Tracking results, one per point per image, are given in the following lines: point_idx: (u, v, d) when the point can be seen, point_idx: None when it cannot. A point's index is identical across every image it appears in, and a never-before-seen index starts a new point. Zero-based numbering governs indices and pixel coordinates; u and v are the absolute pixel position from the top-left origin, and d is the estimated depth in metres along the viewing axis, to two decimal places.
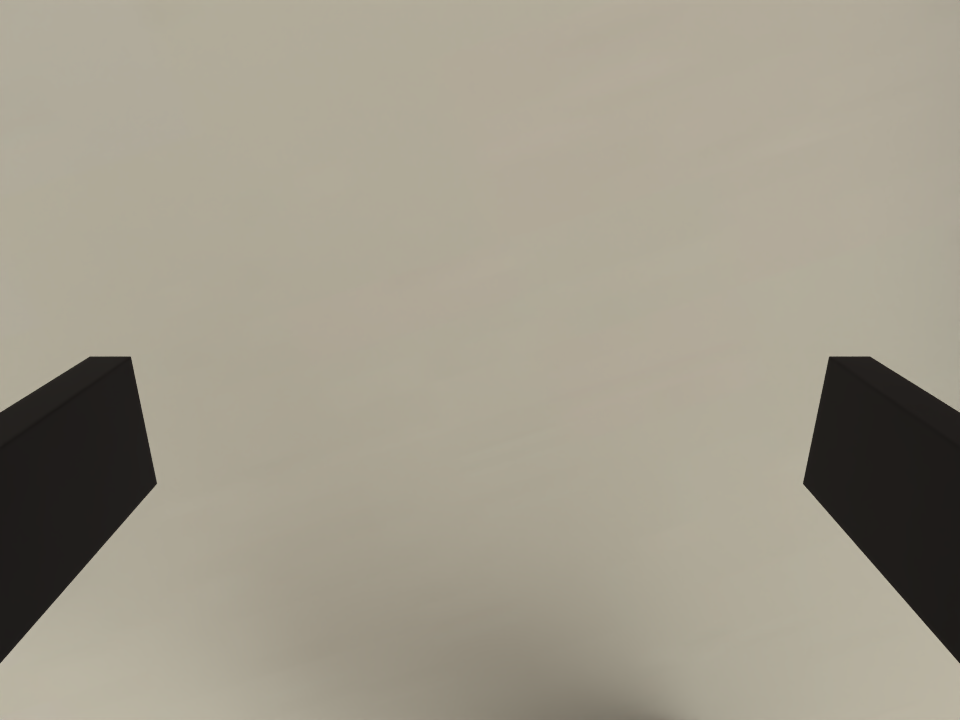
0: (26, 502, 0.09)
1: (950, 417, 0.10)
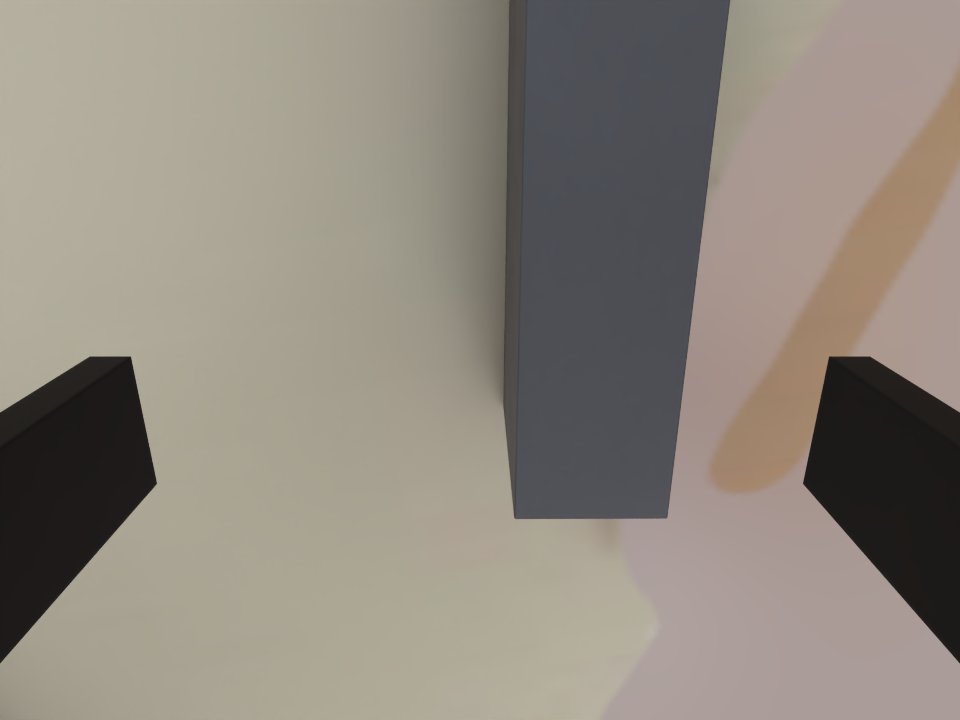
0: (26, 502, 0.09)
1: (950, 417, 0.10)
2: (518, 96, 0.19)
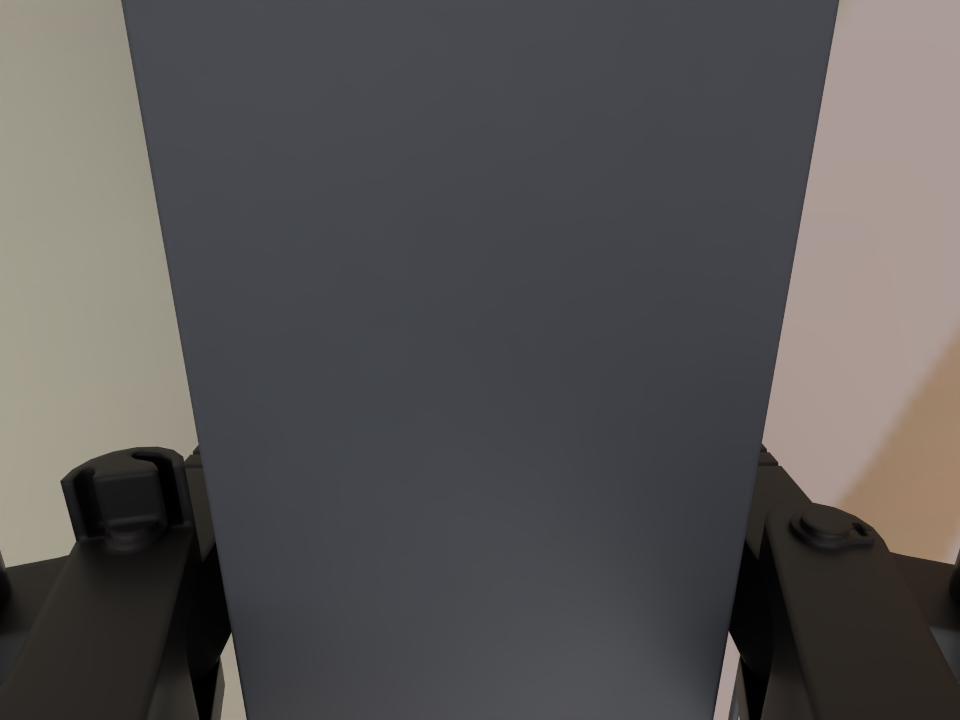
0: None
1: None
2: None
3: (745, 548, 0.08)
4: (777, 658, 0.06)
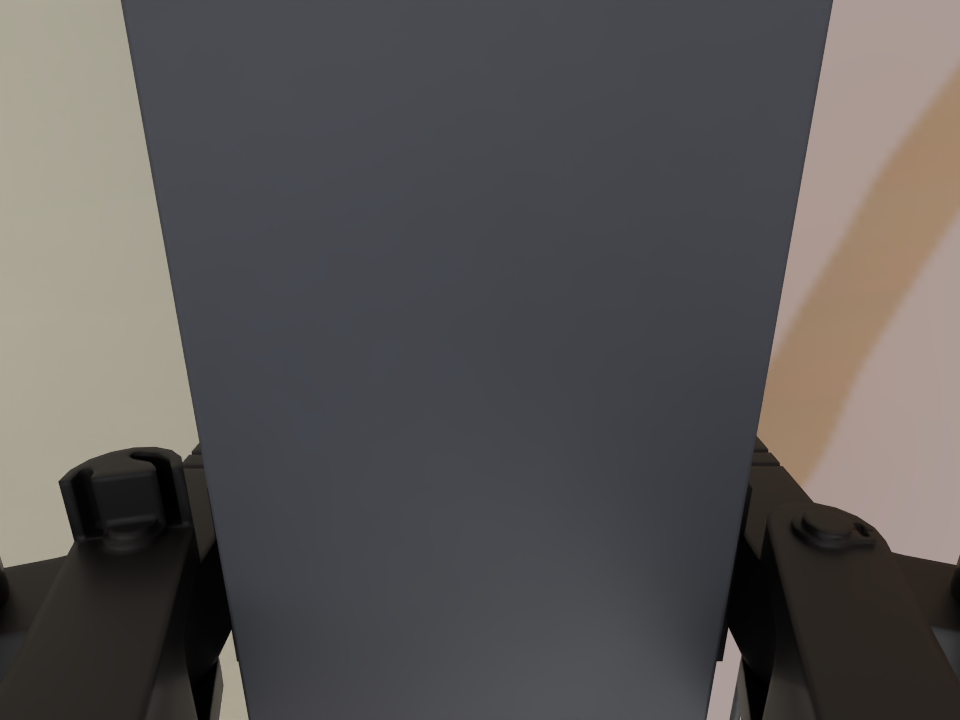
0: None
1: None
2: None
3: (746, 548, 0.08)
4: (779, 658, 0.06)
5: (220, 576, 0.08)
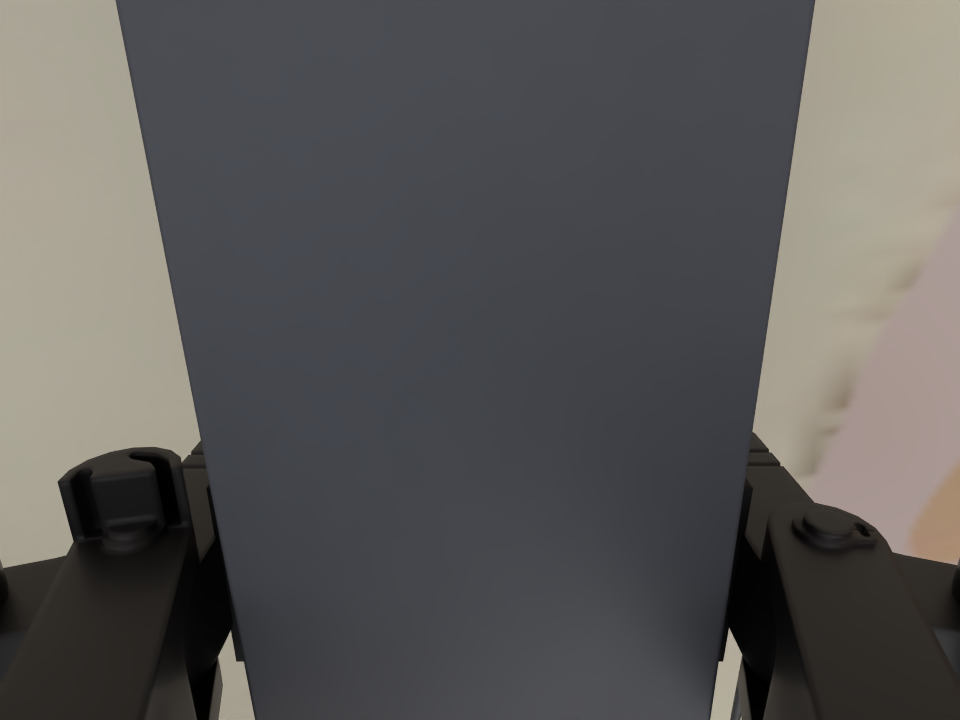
0: None
1: None
2: None
3: (747, 549, 0.08)
4: (779, 658, 0.06)
5: (219, 576, 0.08)
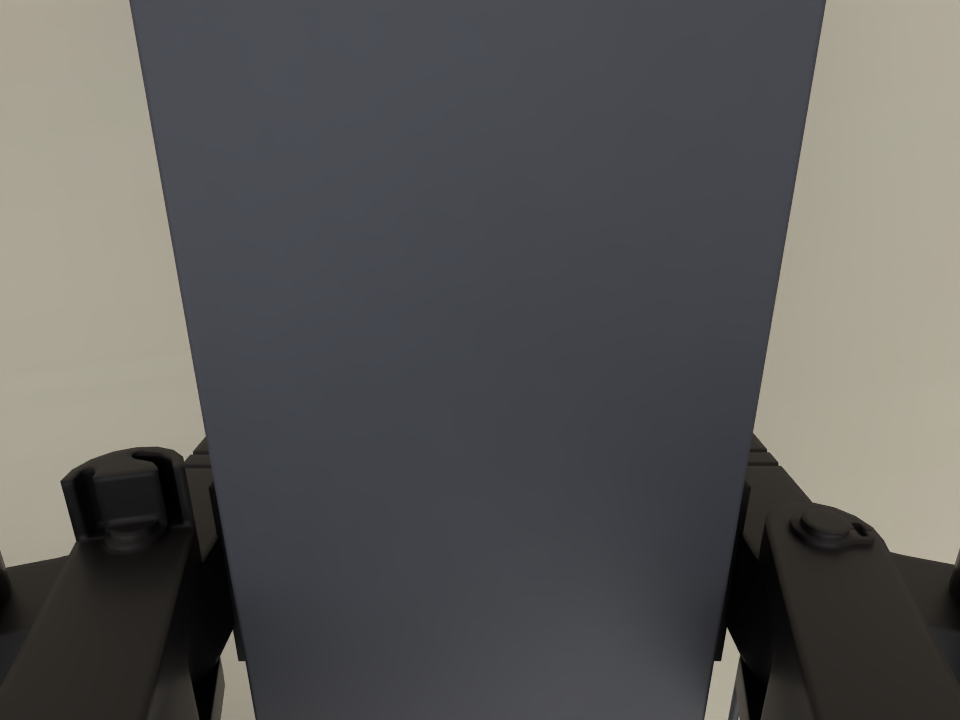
0: None
1: None
2: None
3: (745, 548, 0.08)
4: (777, 658, 0.06)
5: (221, 575, 0.08)
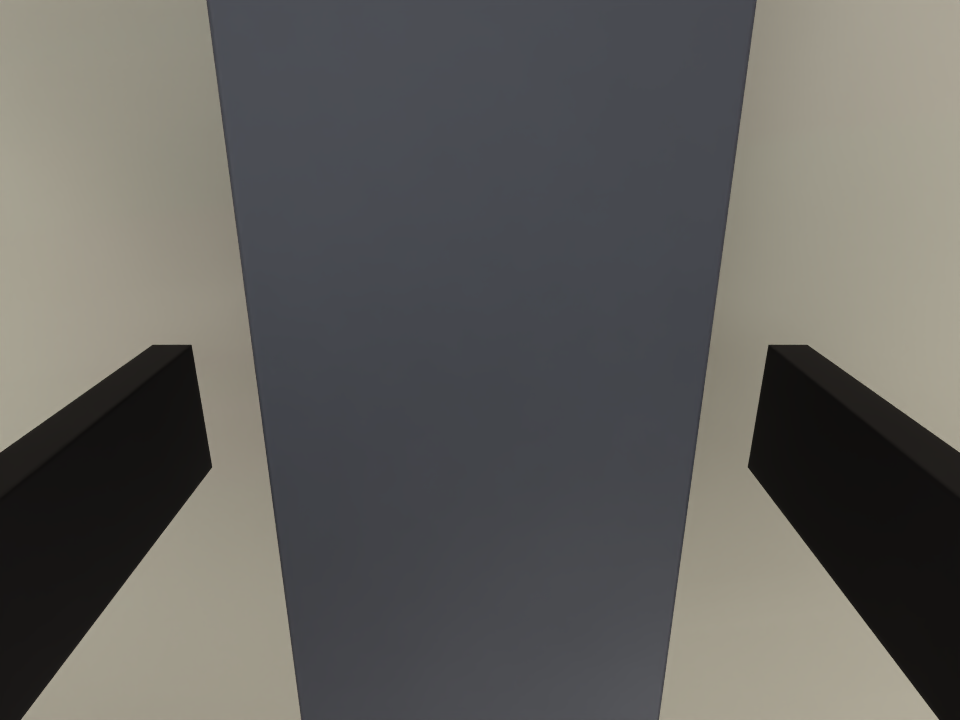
0: (110, 478, 0.10)
1: (867, 399, 0.10)
2: None
3: None
4: None
5: None
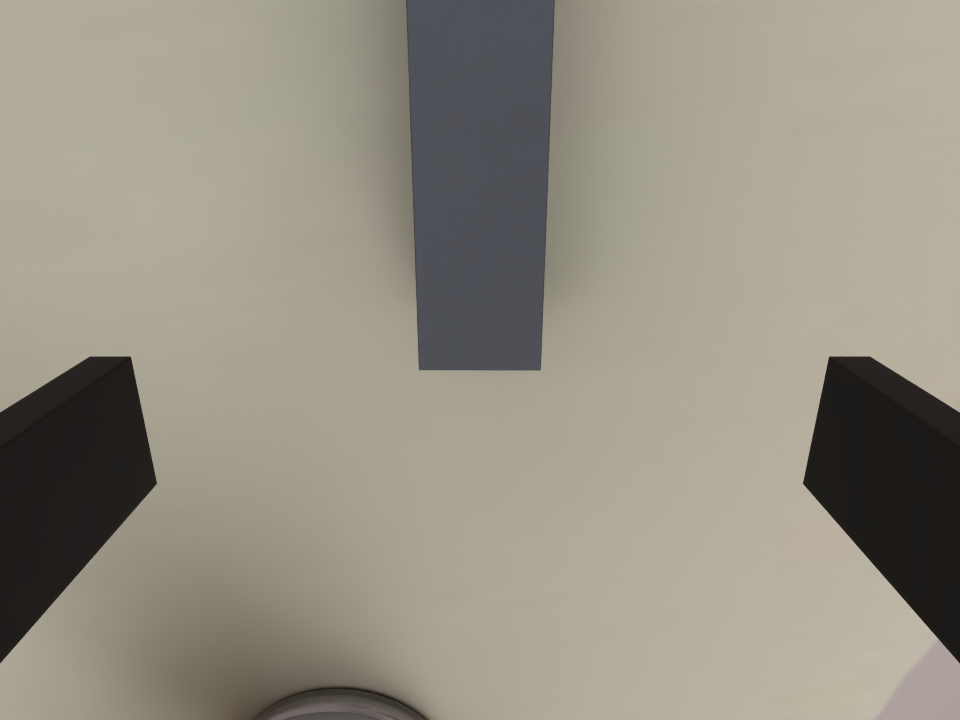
0: (26, 502, 0.09)
1: (950, 417, 0.10)
2: None
3: None
4: None
5: None
